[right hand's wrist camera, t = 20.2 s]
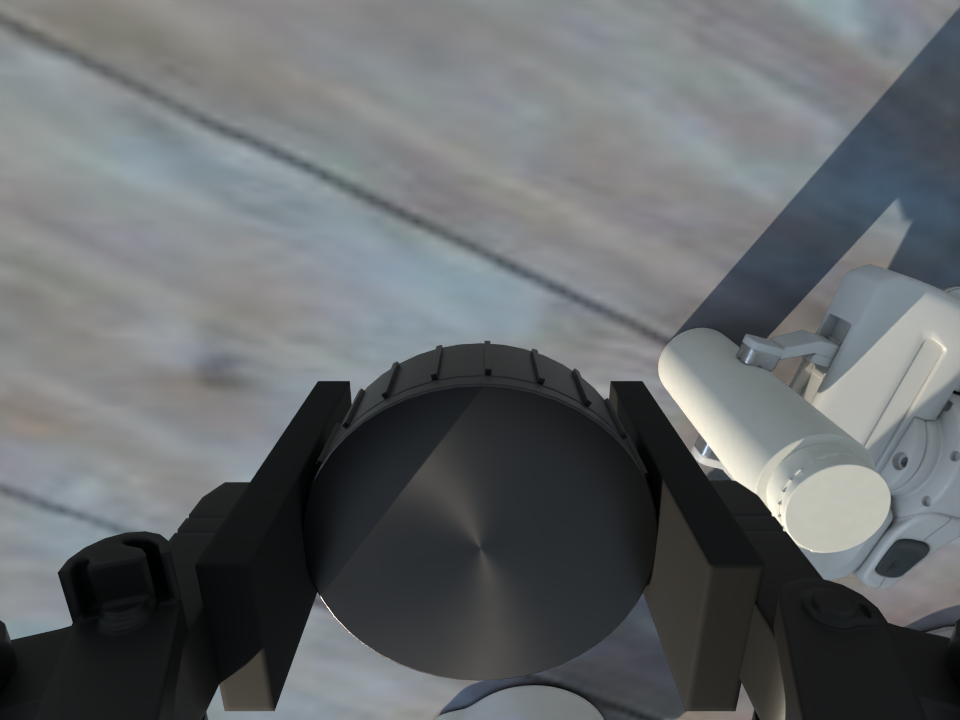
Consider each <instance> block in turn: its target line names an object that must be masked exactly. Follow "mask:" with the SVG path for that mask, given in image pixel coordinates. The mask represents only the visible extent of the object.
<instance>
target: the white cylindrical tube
mask: <svg viewBox="0 0 960 720" xmlns="http://www.w3.org/2000/svg"><path fill="white" fill-rule="evenodd" d="M739 348H740V347H738V346H737V345H736V344H735V343H733V342H732V341H731V340H730V339H728V338H727V337H726V336H725V335H723V334H722V333H720V332H718V331H716V330H713V329H709V328H694V329H690V330H687V331H684V332H682V333H680V334H678V335H677V336H676V337H674V338H673V339H672V340H671V341H670V342H669V343H668V344H667V345H666V347H665V348H664V350H663V352H662V354H661V356H660V359H659V367H658V370H659V376H660V379H661V382H662V383H663V385H664V386H665V388H666V389H667V390H668V392H669V393H670V394H671V396H672V397H673V398H674V400H675V401H676V402H677V404H678V405H679V406H680V408H681V409H682V410H683V412H684V413H685V414H686V416H687V417H688V418H689V420H690V421H691V422H692V424H693V425H694V426H695V428H696V429H697V430H698V432H699V433H700V434H701V436H702V437H703V438H704V440H705V441H706V442H707V444H708V445H709V446H710V448H711V449H712V450H713V452H714V453H715V454H716V456H717V457H718V458H719V460H720V461H721V462H722V464H723V465H724V466H725V468H726V469H727V470H728V472H729V473H730V474H731V476H732V477H733V478H734V480H735V481H737V482H739V483H740V484H742V485H743V486H745V487H746V488H748V489H749V490H751V491H752V492H754V493H755V494H757V495H758V496H759V497H760V499H761V500H762V501H763V502H764V504H765V505H766V506H767V507H768V509H769V510H770V511H771V513H772V516H775V518H776V519H777V520H778V522H779V523H780V524H781V525H782V527H783V531H786V532H787V533H788V534H789V536H790V537H791V538H792V539H793V541H794V542H795V543H796V544H797V545H798V546H799V547H801V548H804V549H807V550H810V551H811V552H817V553H825V552H837V551H842V550H846V549H849V548H852V547H854V546H857V545H859V544H861V543H862V542H864V541H866V540H867V539H868V538H870V537H871V536H872V535H873V534H874V533H875V532H876V531H877V530H878V529H879V528H880V527H881V525H882V524H883V523H884V521H885V519H886V517H887V515H888V513H889V510H890V505H891V493H890V489H889V486H888V484H887V482H886V481H885V479H884V478H883V477H882V476H881V475H880V474H879V473H878V472H877V471H876V470H875V465H874V462H873V459H872V457H871V455H870V454H869V452H868V451H867V449H866V448H865V447H864V446H863V445H861V444H860V443H859V442H858V441H856V440H855V439H854V438H853V437H851V436H850V435H849V434H848V433H846V432H845V431H844V430H843V429H841V428H840V427H839V426H838V425H836V424H835V423H834V422H833V421H831V420H830V419H829V418H828V417H826V416H825V415H824V414H823V413H821V412H820V411H819V410H818V409H816V408H815V407H814V406H812V405H811V404H810V403H809V402H807V401H806V400H805V399H804V398H802V397H801V396H800V395H799V394H797V393H796V392H795V391H794V390H792V389H791V388H790V387H789V386H787V385H786V384H785V383H784V382H782V381H781V380H780V379H779V378H777V377H776V376H775V375H774V374H772V373H771V372H770V371H768V370H765V369H763V368H761V367H760V366H758V367H755V366H750V365H748V364H746V363H744V362H742V361H741V359H740V358H737V357H736V354H737V352H738V350H739Z"/></svg>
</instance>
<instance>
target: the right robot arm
mask: <svg viewBox="0 0 960 720" xmlns="http://www.w3.org/2000/svg"><path fill="white" fill-rule="evenodd" d="M609 400H610V401H611V403H612V405H613V407H614V409H615V411H616V413H617V415H618V417H619V419H620V421H621V423H622V426H623V428H624V430H625V432H626V434H629V436H630V438H631V440H632V442H633V444H634V446H635V448H636V450H637V452H638V454H639V456H640V458H641V460H642V462H643V463H644V465H645V467H646V469H647V471H648V474H649V477H647V478H646V479H647V482H648V484H649V486H650V488H651V491H652V495H653V499H654V502H655V506H656V511H657V521H658V536H657V545H656V553H655V560H654V566H653V569H652V572H651V575H650V577H649V580H648V582H647V585H646V587H645V589H644V591H643V593H644V596H645V599H646V602H647V604H648V607H649V610H650V613H651V616H652V618H653V621H654V624H655V627H656V629H657V632H658V635H659V638H660V641H661V643H662V646H663V649H664V652H665V654H666V657H667V660H668V663H669V666H670V668H671V671H672V674H673V677H674V679H675V682H676V685H677V688H678V691H679V693H680V696H681V699H682V702H683V704H684V707H685V710H686V711H736V707H737V702H738V697H739V692H740V687H741V682H742V684H743V686H744V688H745V690H746V692H747V694H748V696H749V698H750V701H751V703H752V705H753V707H754V713H753V717H752V720H960V619H959V620H958V621H957V622H956V624H955V627H954V630H953V633H952V636H951V638H948V637H944V636H940V635H935V634H931V633H926V632H922V631H917V630H913V629H909V628H904V627H900V626H897V625H893V624H890V623H888V622H887V621H886V619H885V618H884V616H883V615H882V614H881V612H880V611H879V609H878V608H877V607H876V606H875V605H874V604H872V603H871V602H870V601H869V600H867V599H866V598H865V597H864V596H863V595H861V594H859V593H857V592H855V591H853V590H851V589H849V588H847V587H846V586H844V585H841V584H838V583H834V582H831V581H828V580H825V579H823V578H822V576H821V575H820V574H819V573H818V571H817V570H816V569H815V568H814V566H813V565H812V564H811V562H810V561H809V560H808V559H807V557H806V556H805V555H804V553H803V552H802V551H801V550H800V548H799V547H798V546H797V545H796V543H795V542H794V541H793V539H792V538H791V537H790V536H789V534H788V533H787V532H786V531H783V527H782V525H781V524H780V523H779V522H778V520H777V519H776V518H775V516H772V513H771V511H770V510H769V509H768V507H767V506H766V505H765V504H764V502H763V501H762V500H761V499H760V497H759V496H758V495H757V494H755V493H754V492H752V491H751V490H749V489H748V488H746V487H745V486H743V485H742V484H740V483H739V482H737V481H709V480H708V478H707V477H706V475H705V474H704V472H703V471H702V469H701V468H700V466H699V465H698V463H697V462H696V461H695V459H694V458H693V456H692V455H691V453H690V452H689V450H688V449H687V447H686V446H685V444H684V443H683V441H682V440H681V438H680V437H679V435H678V434H677V432H676V431H675V429H674V428H673V426H672V425H671V423H670V422H669V420H668V419H667V417H666V416H665V414H664V413H663V411H662V410H661V408H660V407H659V405H658V404H657V402H656V401H655V400H654V398H653V397H652V395H651V394H650V392H649V391H648V389H647V388H646V386H645V385H644V383H643V382H642V381H611V384H610V396H609ZM351 406H352V403H351V391H350V381H318V382H317V384H316V385H315V387H314V388H313V390H312V391H311V393H310V394H309V396H308V397H307V399H306V400H305V402H304V403H303V405H302V406H301V408H300V409H299V411H298V412H297V413H296V415H295V416H294V418H293V419H292V421H291V422H290V424H289V425H288V427H287V428H286V430H285V431H284V433H283V434H282V436H281V437H280V439H279V440H278V442H277V443H276V445H275V446H274V448H273V449H272V451H271V452H270V454H269V455H268V457H267V458H266V460H265V461H264V463H263V464H262V466H261V467H260V469H259V470H258V472H257V473H256V474H255V476H254V477H253V479H252V480H251V482H225V483H223V484H222V485H220V486H219V487H217V488H216V489H214V490H213V491H211V492H210V493H208V494H207V495H205V496H204V497H203V498H202V499H201V500H200V501H199V503H198V504H197V505H196V507H195V508H194V509H193V510H192V512H191V513H190V514H189V518H186V519H185V521H184V522H183V523H182V525H181V526H180V527H179V528H178V532H177V533H175V534H174V535H173V536H172V537H171V539H170V540H169V541H168V540H166V539H165V538H164V537H163V536H161V535H160V534H156V533H151V532H146V531H144V532H130V533H123V534H120V535H116V536H112V537H108V538H105V539H103V540H101V541H98V542H96V543H94V544H92V545H90V546H87V547H85V548H84V549H82V550H81V551H80V552H78V553H77V554H75V555H74V556H73V557H71V558H70V559H68V560H67V562H66V563H65V564H64V565H63V567H62V568H61V569H60V570H59V572H58V575H59V579H60V582H61V585H62V588H63V592H64V595H65V598H66V602H67V605H68V608H69V611H70V615H71V618H72V621H73V624H72V626H69V627H66V628H62V629H58V630H54V631H50V632H45V633H41V634H36V635H32V636H27V637H23V638H19V639H14V640H10V637H9V634H8V631H7V629H6V626H5V624H4V623H3V622H2V621H0V720H208V717H207V713H206V711H207V709H208V706H209V704H210V702H211V700H212V698H213V696H214V694H215V692H216V690H217V688H218V686H219V685H220V690H221V695H222V700H223V705H224V710H225V711H275V708H276V705H277V703H278V700H279V697H280V694H281V692H282V689H283V686H284V683H285V680H286V678H287V675H288V672H289V669H290V667H291V664H292V661H293V658H294V655H295V653H296V650H297V647H298V644H299V642H300V639H301V636H302V633H303V630H304V628H305V625H306V622H307V619H308V617H309V614H310V611H311V608H312V605H313V603H314V600H315V597H316V594H317V590H316V588H315V586H314V584H313V581H312V578H311V576H310V573H309V570H308V567H307V563H306V556H305V549H304V541H303V530H302V525H303V516H304V508H305V504H306V500H307V497H308V493H309V490H310V487H311V485H312V482H313V480H314V478H315V476H316V474H317V472H318V470H319V468H320V466H319V465H316V463H317V461H318V459H319V457H320V455H321V453H322V451H323V449H324V447H325V445H326V443H327V441H328V439H329V437H330V435H331V433H332V431H333V429H334V427H335V425H336V423H339V424H341V423H342V421H343V419H344V417H345V415H346V414H347V412H348V411H349V409H350V408H351Z"/></svg>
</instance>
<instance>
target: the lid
mask: <svg viewBox="0 0 960 720" xmlns="http://www.w3.org/2000/svg"><path fill="white" fill-rule="evenodd" d="M316 465H319V466H320V468H319V470H318V472H317V474H316V476H315V478H314V480H313V482H312V485H311V487H310V490H309V493H308V497H307V500H306V504H305V508H304V516H303V525H302V530H303V541H304V549H305V556H306V563H307V567H308V570H309V573H310V576H311V578H312V581H313V584H314V586H315V588H316V590H317V592H318V593H319V595H320V597H321V599H322V601H323V602H324V604H325V605H326V606H327V608H328V609H329V611H330V612H331V613H332V615H333V616H334V617H335V618H336V619H337V620H338V622H339V623H340V624H341V625H342V626H343V627H344V628H345V629H346V630H347V631H348V632H349V633H350V634H352V635H353V636H354V637H355V638H357V639H358V640H359V641H360V642H361V643H363V644H364V645H366V646H367V647H369V648H370V649H372V650H373V651H375V652H376V653H378V654H380V655H381V656H383V657H385V658H387V659H389V660H391V661H393V662H396V663H398V664H400V665H403V666H405V667H408V668H411V669H413V670H416V671H419V672H423V673H427V674H431V675H435V676H439V677H446V678H452V679H460V680H478V681H480V680H501V679H508V678H515V677H522V676H526V675H530V674H534V673H538V672H542V671H544V670H547V669H550V668H553V667H555V666H558V665H561V664H563V663H565V662H567V661H569V660H571V659H573V658H575V657H577V656H579V655H581V654H582V653H584V652H586V651H587V650H589V649H590V648H592V647H594V646H595V645H597V644H598V643H599V642H600V641H602V640H603V639H604V638H605V637H607V636H608V635H609V634H610V633H612V631H613V630H614V629H615V628H616V627H617V626H618V625H619V624H620V623H621V622H622V621H623V620H624V619H625V618H626V617H627V615H628V614H629V613H630V611H631V610H632V609H633V607H634V606H635V605H636V603H637V602H638V600H639V598H640V596H641V594H642V593H643V591H644V589H645V587H646V585H647V582H648V580H649V577H650V575H651V572H652V569H653V566H654V560H655V553H656V545H657V536H658V521H657V511H656V506H655V502H654V499H653V495H652V491H651V488H650V486H649V484H648V482H647V479H646V478H647V477H649V474H648V471H647V469H646V467H645V465H644V463H643V462H642V460H641V458H640V456H639V454H638V452H637V450H636V448H635V446H634V444H633V442H632V440H631V438H630V436H629V434H626V432H625V430H624V428H623V426H622V423H621V421H620V419H619V417H618V415H617V413H616V411H615V409H614V407H613V405H612V403H611V401H610V400H609V399H608V398H607V399H605V400H604V399H603V398H602V397H601V396H600V394H599V393H598V392H597V391H596V390H595V389H594V388H593V387H592V386H591V385H590V384H589V383H587V382H586V381H585V380H584V379H583V378H582V377H581V375H580V373H579V371H578V370H576V369H574V370H573V371H572V370H570V369H569V368H567V367H566V366H564V365H563V364H560V363H558V362H556V361H554V360H552V359H550V358H548V357H546V356H544V355H541V354H538V351H537V350H535V349H532V351H529V350H526V349H522V348H516V347H511V346H506V345H498V344H490V341H485V342H484V344H483V343H479V344H461V345H455V346H449V347H444V348H443V347H442V345H439V346H437V347H436V349H435V350H432V351H429V352H426V353H423V354H419V355H417V356H415V357H413V358H411V359H408V360H406V361H404V362H402V363H400V364H399V363H398V362H395V363H394V364H393V365H392V368H391V369H390V370H389V371H387V372H386V373H384V374H382V375H381V376H380V377H379V378H378V379H377V380H375V381H374V382H373V383H372V384H371V385H369V386H368V387H367V388H366V389H365V390H363V389H360V390H359V391H358V393H357V395H356V397H355V399H354V401H353V403H352V406H351V408H350V409H349V411H348V412H347V414H346V415H345V417H344V419H343V421H342V423H341V424H339V423H336V425H335V427H334V429H333V431H332V433H331V435H330V437H329V439H328V441H327V443H326V445H325V447H324V449H323V451H322V453H321V455H320V457H319V459H318V461H317V463H316Z"/></svg>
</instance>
